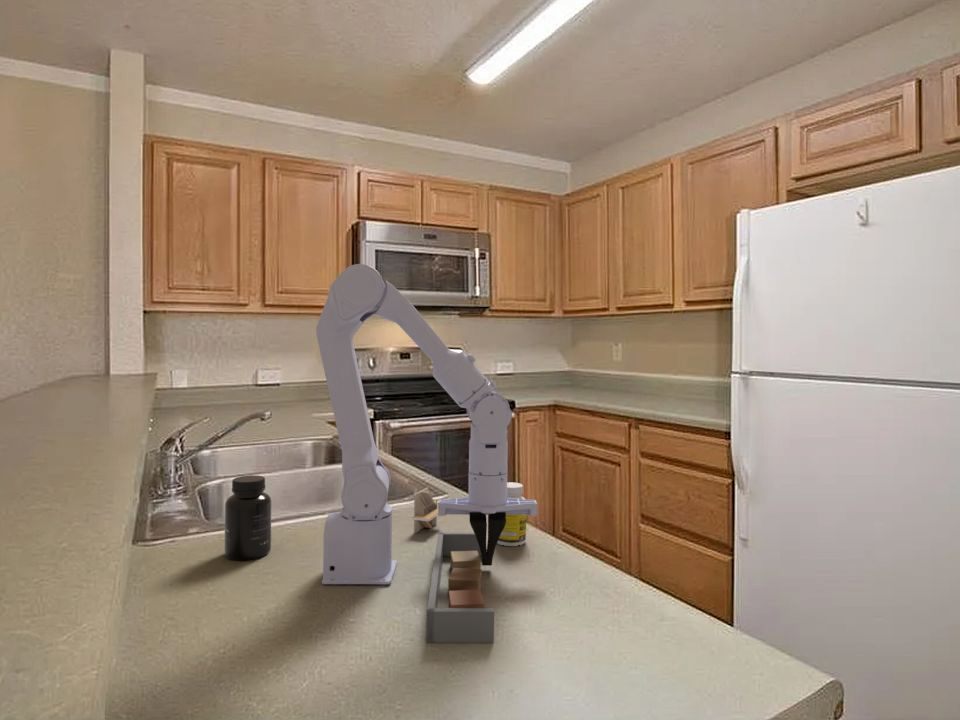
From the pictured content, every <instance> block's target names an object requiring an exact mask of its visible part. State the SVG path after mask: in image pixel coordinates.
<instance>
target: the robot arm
mask: <svg viewBox="0 0 960 720" xmlns="http://www.w3.org/2000/svg"><path fill="white" fill-rule="evenodd" d="M385 282H386V283H385ZM374 314H376V315H377V316H378V317H380V318H381V319H385V320H387V321H389V322H392V323H396V324H397V325H398V326H399V327H400V328H401V330H402V331H404V332H405V334H406V335H407V336H408V337H409V338H410V339H411V340H412V341H413V342H414V344H416V346H417V347H418V348H419V349H420V350H421V351H422V352H423V353H424V354H425V355H426V356H427V357H428V359H429V360H431V362H432V363H433V364H432V365H433V367H432V376H433V378H434V379H435V381H437V383H438V384H439V385H440V386H441V387H442V389H443V390H445V392H446V393H447V394H448V395H449V396H450V398H452V400H453V401H454V402H455V403H456V404H457V405H458V406H459V407H460V408H463V409H466V414H467V417H468V419H469V420H471V422H472V423H470V438H469V441H468V449H469V450H468V497H460V498H459V497H457V498H447V499H445V498H444V499H442V498H441V499H440V498H439V499H438V501H437V509H438V516H437V517H440V516H441V517H445V516H446V515H462V516H463V515H468V516H469V524H470V527H471V529H472V531H473V533H475V536H476V538H477V541H478V544H479V548H480V552H481V556H480V557H481V566H489V567H490V566H492V565H493V558H494V554H495V550H496V548H497V545H498V543H497V542H498V539H499V537H500V535H501V533H502V531H503V529H504V527H505V524H506V515H527V516H530V517H538V501H537V500H536V499H526V498H525V499H526V500H525V499H515V498H507V482H508V457H509V456H508V453H509V451H508V449H509V447H508V446H509V445H508V444H509V442H508V438H507V437H508V426H509V424H510V422H511V420H512V417H513V412H512V410H511V408H510V407H511V406H510V404H509V402H508V400H507V398H506V397H504V396H503V395H502V394H500V393H499V391H497V390H495V387H496V386H497V384H496V382H494V380H492V379H490V380H489V379H488V378H487V377H486V376H485V375H484V374H483V372H482V371H481V370H480V369H479V368H478V367H477V365H475V363H474V362H476V358H475V357H474V356H473V355H472V354H471V353H468V354H466V353H465V352H464V351H463V350H462V349H451V348H449V347H448V346H447V345H446V344H445V342H444V341H443V340H442V339H441V337H440V336H438V333H436V331H434V329H433V328H432V327H431V325H430V324H429V323H428V322H427V321H426V320H425V318H424V317H423V316H422V314H421V313H420V312H419V311H418V310H417V308H416V307H415V306H414V305H413V304H412V303H411V301H410V300H409V299H408V298H407V297H406V296H405V295H404V294H403V293H402V292H401V291H400V290H398V289H397V287H395V286H394V284H392V283H390V282H389V281H388V280H385V281H384V280H383V277H382V276H381V274H380V273H379V271H378V270H376V269H375V267H372V266H370V265H368V264H365V263H355V264H352V265H350V266H348V267H346V268H345V269H343V271H342V272H340V274H339V275H338V276H337V277H336V279H334V280H333V282H331V284H330V287H329V291H328V294H327V298H326V301H325V303H324V306H323V308H322V311H321V313H320V317H319V319H318V322H317V324H316V328H315V330H316V331H315V332H316V333H315V334H316V338H317V344H318V347H319V352H320V358H321V361H322V362H321V363H322V366H323V370H324V371H323V372H324V375H325V376H324V377H325V379H326V380H325V381H326V384H327V390H328V394H329V399H330V402H331V403H330V404H331V408H332V413H333V416H334V421H335V426H336V430H337V436H338V440H339V445H340V449H341V459H342V460H341V469H342V475H343V486H342V488H341V491H340V492H341V494H340V499H341V505H342V506H343V507H342V508H341V511H340V512H330V513H328V514H327V517H326V519H325V522H324V523H325V524H324V529H323V530H324V531H323V545H322V546H323V550H322V551H323V552H322V553H323V554H322V557H323V558H322V559H323V561H322V564H323V565H322V569H323V570H322V579H321V584H323V585H390V584H391V583H392V581H393V579H394V578H393V577H394V574H395V571H396V568H397V565H398V560H396V559H393V558H392V557H393V556H392V555H393V554H392V553H393V552H392V551H393V550H392V549H393V545H392V543H393V541H392V540H393V507H392V506H391V505H390V504H389V503H388V497H389V496H388V495H389V490H390V488H391V483H392V481H391V479H392V478H391V475H390V472H389V470H388V468H386V466H385V465H384V464H383V462H382V461H381V457H380V453H379V450H378V448H377V445H376V442H375V439H374V433H373V430H372V424H371V420H370V415H369V411H368V406H367V401H366V396H365V392H364V387H363V382H362V378H361V374H360V368H359V363H358V359H357V355H356V354H357V353H356V350H355V345H354V340H353V338H354V336H355V335H356V334H357V332H358V331H359V329H360V328H361V327H362V325H363V324H364V323H365V321H366V320H367V319H369V318H370V317H372V316H373V315H374Z"/></svg>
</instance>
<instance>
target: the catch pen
mask: <svg viewBox="0 0 960 720" xmlns="http://www.w3.org/2000/svg"><path fill="white" fill-rule="evenodd" d="M452 551H477V552H478V555H479V557H482V556H481V552H480V548H479V544H478V541H477V538H476V536H475V533H474V532H438V533H437V539H436V547H435V554H434V561H433V567H432V574H431V581H430V588H429V596H428V600H427V602H428V603H427V608H426V643H427V644H429V643H430V644H439V643H441V644H442V643H443V644H444V643H445V644H446V643H448V644H451V643H452V644H453V643H454V644H456V643H458V644H463V643H464V644H465V643H466V644H469V643H471V644H473V643H474V644H475V643H477V644H478V643H479V644H481V643H485V644H486V643H487V644H488V643H489V644H490V643H491V644H493V643H492V642H494V643H495V608H494V607H491V608H490V607H489V608H488V607H486V608H485V607H484V608H449V607H447V608H445V607H443V608H442V607H440V608H439V596H440V589H441V588H440V587H441V579H442V570H443V569H442V567H443V559H444V557H451V552H452Z"/></svg>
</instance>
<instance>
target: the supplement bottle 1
mask: <svg viewBox="0 0 960 720" xmlns="http://www.w3.org/2000/svg"><path fill="white" fill-rule="evenodd" d="M231 481H232V484H231V492H232V493H233V494H232V495H231V496H229V497H227V499H226V501H225V502H224V556H225V557H226V558H227V559H229V560H231V561H236V562H238V561H239V562H244V561H245V562H246V561H252V560H253V561H254V560H257V559H261V558H263V557H265V556H267V555H268V554H269V553H270V552H271V549H272V498H271V496H270V495H269V494H268V493H267V492H265V490H266V489H267V488H266V477H264V476H262V475H253V474H252V475H251V474H250V475H241V476H238V477H234V478H233V479H231Z"/></svg>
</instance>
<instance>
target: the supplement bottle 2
mask: <svg viewBox="0 0 960 720" xmlns="http://www.w3.org/2000/svg"><path fill="white" fill-rule="evenodd" d="M523 494H524V485H523V484H522V483H520V482H510V481H509V482H508V481H507V498H515V499H525V500H527V499H526V498H525V497H523V496H522V495H523ZM527 516H528V515H506V524H505V527H504V529H503V531H502V533H501V535H500V537H499V539H498V542H497V545H500V546H503V545H504V546H503V547H519V546H518V545H520V546H523V545H524V544H525V543H526V541H527Z"/></svg>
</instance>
